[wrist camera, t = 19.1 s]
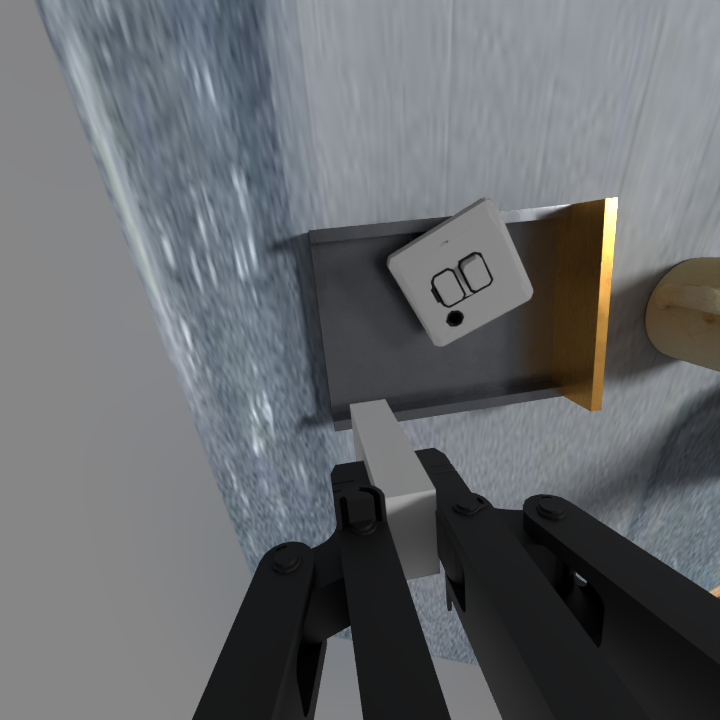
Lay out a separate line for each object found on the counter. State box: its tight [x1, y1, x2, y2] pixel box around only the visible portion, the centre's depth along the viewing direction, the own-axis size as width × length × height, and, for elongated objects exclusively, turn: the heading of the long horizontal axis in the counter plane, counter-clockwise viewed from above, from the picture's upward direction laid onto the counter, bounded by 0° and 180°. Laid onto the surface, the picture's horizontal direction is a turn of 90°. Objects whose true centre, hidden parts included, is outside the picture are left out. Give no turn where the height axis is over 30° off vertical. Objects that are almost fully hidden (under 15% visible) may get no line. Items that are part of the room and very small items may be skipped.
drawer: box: [308, 198, 618, 431], centre depth 36 cm, size 18×24×8 cm
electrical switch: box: [387, 197, 533, 347], centre depth 34 cm, size 9×5×9 cm
